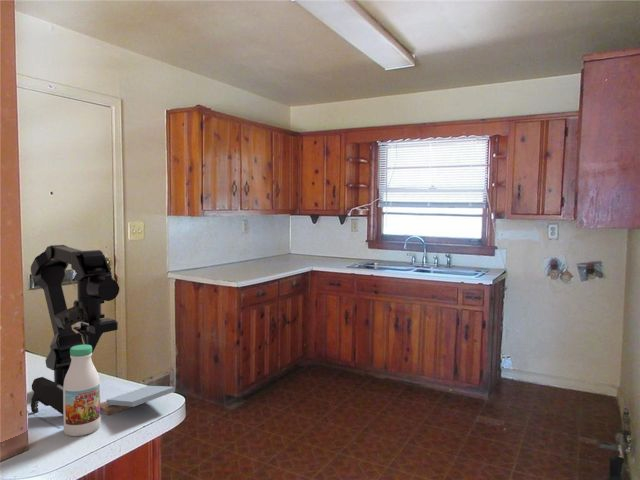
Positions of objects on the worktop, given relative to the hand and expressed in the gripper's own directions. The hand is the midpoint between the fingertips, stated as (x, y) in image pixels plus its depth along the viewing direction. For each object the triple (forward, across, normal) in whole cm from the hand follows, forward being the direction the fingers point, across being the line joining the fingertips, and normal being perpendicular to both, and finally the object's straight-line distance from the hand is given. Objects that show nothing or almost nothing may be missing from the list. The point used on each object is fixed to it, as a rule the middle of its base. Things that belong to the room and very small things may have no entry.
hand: (90, 352), depth 124 cm
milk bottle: (+13, +16, -10) cm, 23 cm away
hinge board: (+13, +10, +4) cm, 17 cm away
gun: (+13, +4, -10) cm, 17 cm away
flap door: (+11, +11, +4) cm, 16 cm away
